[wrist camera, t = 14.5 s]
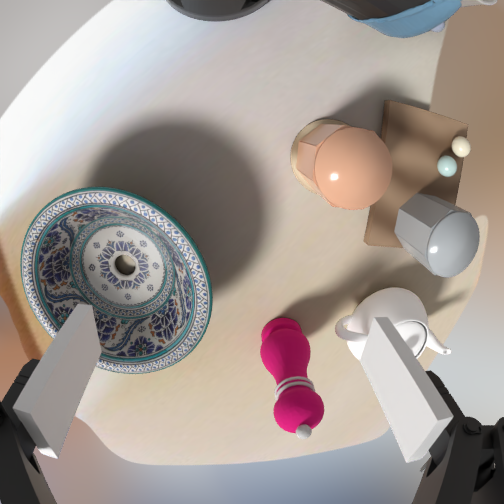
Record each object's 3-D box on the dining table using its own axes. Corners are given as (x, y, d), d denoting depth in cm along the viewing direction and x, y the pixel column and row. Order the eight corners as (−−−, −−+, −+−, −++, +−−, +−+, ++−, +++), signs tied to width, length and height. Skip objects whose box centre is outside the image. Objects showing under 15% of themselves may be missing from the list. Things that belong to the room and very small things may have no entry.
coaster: (294, 114, 37) (295, 114, 36) (368, 126, 38) (370, 126, 37) (286, 191, 41) (287, 192, 40) (358, 198, 42) (360, 199, 41)
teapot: (309, 341, 50) (325, 388, 41) (342, 266, 46) (369, 305, 36) (411, 353, 54) (436, 391, 44) (445, 292, 49) (479, 325, 39)
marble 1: (422, 14, 32) (421, 14, 30) (441, 12, 30) (441, 12, 28) (428, 32, 33) (427, 33, 31) (447, 31, 31) (447, 31, 29)
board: (384, 100, 37) (390, 100, 35) (461, 123, 38) (467, 124, 36) (363, 241, 44) (367, 245, 43) (438, 246, 45) (443, 250, 44)
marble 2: (447, 158, 35) (461, 173, 35) (446, 147, 37) (460, 162, 37) (432, 170, 38) (446, 184, 38) (433, 159, 39) (446, 173, 40)
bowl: (239, 202, 41) (242, 225, 32) (192, 350, 50) (186, 393, 41) (63, 154, 37) (25, 165, 28) (50, 306, 45) (24, 340, 36)
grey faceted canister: (402, 190, 40) (438, 208, 32) (447, 198, 41) (485, 216, 32) (390, 248, 43) (421, 276, 35) (435, 251, 44) (468, 277, 36)
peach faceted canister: (300, 121, 37) (320, 121, 29) (364, 131, 38) (397, 135, 29) (293, 187, 40) (310, 205, 32) (355, 194, 41) (385, 213, 33)
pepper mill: (250, 343, 50) (260, 448, 31) (271, 308, 47) (294, 413, 29) (289, 356, 51) (313, 456, 33) (312, 323, 49) (349, 423, 31)
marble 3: (464, 136, 34) (477, 147, 34) (454, 129, 36) (467, 140, 37) (453, 153, 36) (467, 164, 36) (444, 145, 38) (457, 155, 39)
